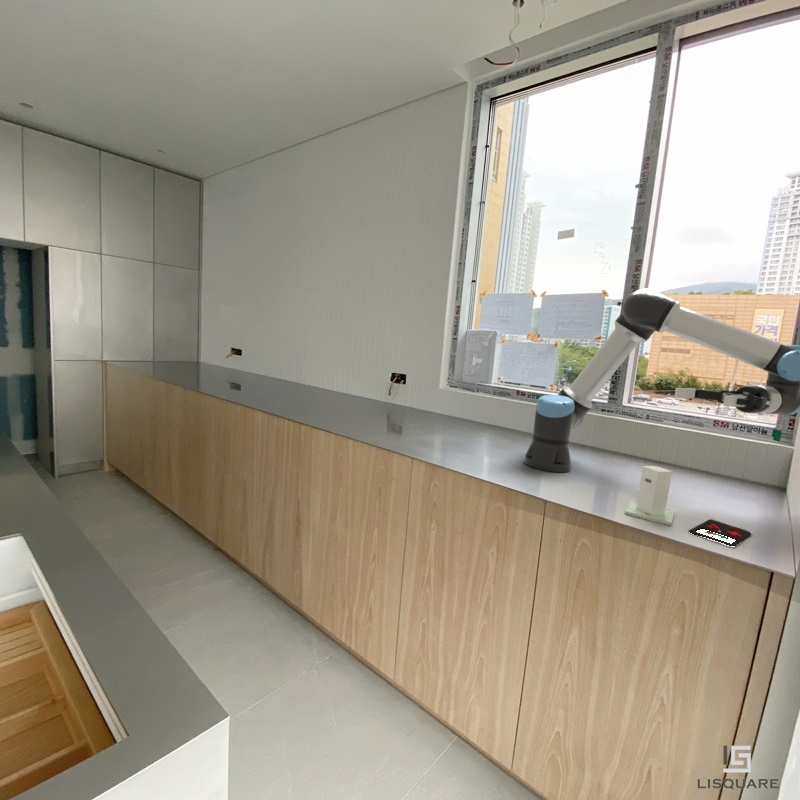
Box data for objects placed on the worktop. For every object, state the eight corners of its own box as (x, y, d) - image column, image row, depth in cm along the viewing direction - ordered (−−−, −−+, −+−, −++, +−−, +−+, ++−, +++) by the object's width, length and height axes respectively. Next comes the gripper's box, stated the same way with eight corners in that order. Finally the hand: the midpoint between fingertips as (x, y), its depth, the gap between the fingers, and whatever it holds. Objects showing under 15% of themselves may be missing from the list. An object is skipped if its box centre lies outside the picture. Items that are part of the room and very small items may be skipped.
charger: (635, 508, 114) (642, 466, 112) (649, 507, 115) (656, 466, 114) (650, 515, 110) (657, 471, 108) (664, 514, 111) (672, 471, 110)
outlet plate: (624, 513, 111) (624, 510, 111) (630, 503, 119) (630, 500, 119) (670, 526, 106) (671, 523, 106) (673, 514, 114) (674, 511, 114)
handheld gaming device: (753, 531, 105) (733, 545, 96) (752, 536, 106) (732, 550, 96) (710, 517, 112) (688, 529, 103) (709, 522, 112) (687, 534, 103)
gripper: (805, 422, 112) (746, 420, 105) (709, 405, 136) (656, 402, 129) (812, 392, 111) (752, 388, 104) (714, 380, 135) (660, 376, 128)
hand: (699, 396), depth 117 cm, fingers open, 13 cm apart
